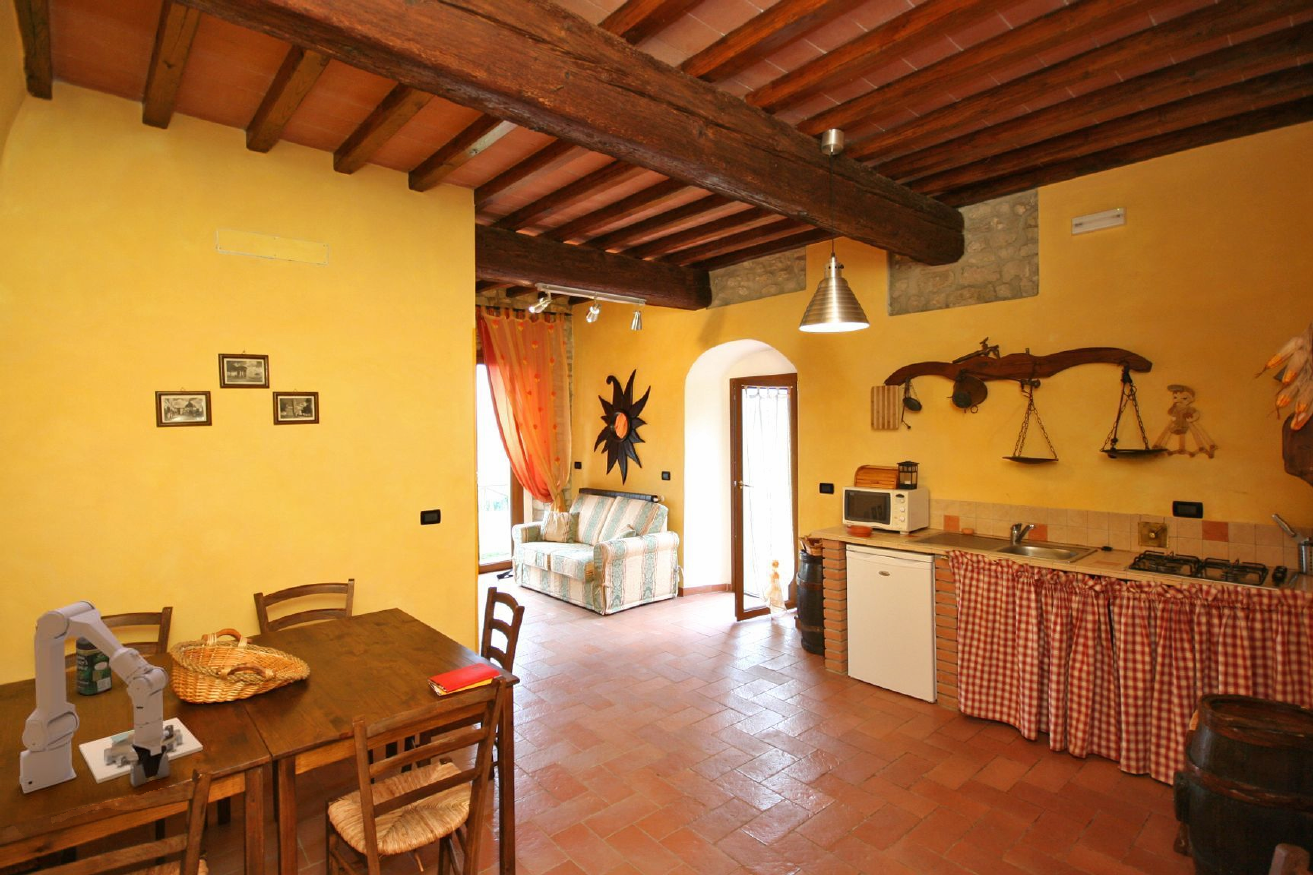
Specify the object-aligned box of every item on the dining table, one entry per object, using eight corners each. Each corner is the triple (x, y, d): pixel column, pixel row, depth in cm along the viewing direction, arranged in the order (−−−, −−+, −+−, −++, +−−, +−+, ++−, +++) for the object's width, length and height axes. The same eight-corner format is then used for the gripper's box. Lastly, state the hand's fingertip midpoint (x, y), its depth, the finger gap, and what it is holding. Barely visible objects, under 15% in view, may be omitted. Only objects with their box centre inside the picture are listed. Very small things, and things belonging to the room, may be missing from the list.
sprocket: (86, 765, 167) (85, 746, 167) (138, 734, 184) (138, 716, 184) (150, 765, 167) (150, 746, 167) (197, 734, 184) (196, 717, 184)
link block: (133, 787, 160) (133, 766, 160) (130, 782, 162) (130, 761, 162) (168, 775, 165) (168, 755, 165) (165, 770, 167) (164, 751, 167)
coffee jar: (72, 691, 216) (71, 636, 215) (101, 683, 223) (100, 629, 222) (87, 697, 211) (85, 640, 211) (116, 688, 218) (115, 633, 218)
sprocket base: (97, 783, 162) (97, 778, 162) (79, 748, 179) (79, 744, 179) (202, 749, 178) (202, 745, 178) (176, 720, 195) (176, 716, 195)
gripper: (175, 722, 162) (176, 777, 162) (160, 705, 171) (161, 757, 171) (140, 733, 156) (141, 789, 157) (126, 714, 166) (127, 767, 166)
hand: (149, 773), depth 164 cm, fingers closed on link block, 3 cm apart
